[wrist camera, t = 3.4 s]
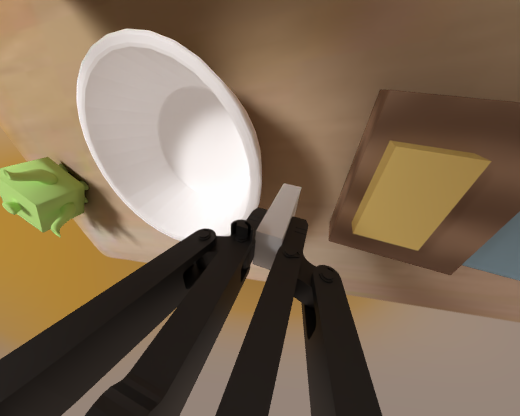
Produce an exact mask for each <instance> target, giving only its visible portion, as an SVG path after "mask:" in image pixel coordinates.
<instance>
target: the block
mask: <svg viewBox="0 0 520 416" xmlns="http://www.w3.org/2000/svg"><path fill="white" fill-rule="evenodd" d="M491 162H492V161H490V160H487V159H485V158H483V157H481V156H479V155H477V154H475V153H469V152H462V151H456V150H449V149H443V148H436V147H430V146H423V145H416V144H410V143H403V142H397V141H389V143H388V146H387V148H386V150H385V152H384V154H383V156H382V158H381V160H380V163H379V165H378V167H377V169H376V171H375V173H374V175H373V178H372V180H371V182H370V184H369V186H368V188H367V190H366V193H365V195H364V197H363V199H362V201H361V203H360V205H359V207H358V210H357V212H356V214H355V216H354V218H353V220H352V231H353V234H357V235H361V236H364V237H368V238H372V239H376V240H379V241H383V242H387V243H391V244H394V245H398V246H402V247H406V248H409V249H413V250H417V251H418V250H419V249H420V248H421V247H422V245H423V244H424V243H425V242H426V241H427V239H428V238H429V237H430V236H431V235H432V233H433V232H434V231H435V230H436V228H437V227H438V226H439V225H440V224H441V222H442V221H443V220H444V219H445V217H446V216H447V215H448V214H449V213H450V211H451V210H452V209H453V208H454V207H455V205H456V204H457V203H458V202H459V200H460V199H461V198H462V197H463V196H464V194H465V193H466V192H467V191H468V190H469V188H470V187H471V186H472V185H473V183H474V182H475V181H476V180H477V179H478V177H479V176H480V175H481V174H482V173H483V171H484V170H485V169H486V168H487V166H488V165H489V164H490V163H491Z"/></svg>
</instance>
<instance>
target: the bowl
mask: <svg viewBox="0 0 520 416" xmlns="http://www.w3.org/2000/svg"><path fill="white" fill-rule="evenodd" d="M77 107H78V114H79V120H80V124H81V127H82V130H83V134H84V137H85V140H86V142H87V145H88V147H89V150H90V152H91V154H92V157H93V158H94V160H95V162H96V164H97V166H98V167H99V169H100V171H101V173H102V174H103V176H104V177H105V179H106V180H107V182H108V183H109V185H110V186H111V187H112V189H113V190H114V191H115V192H116V194H117V195H118V196H119V197H120V198H121V200H122V201H123V202H124V203H125V204H126V205H127V206H128V207H129V208H130V209H131V210H132V211H133V212H134V213H135V214H136V215H138V216H139V217H140V218H141V219H143V220H144V221H145V222H146V223H148V224H149V225H151V226H152V227H154V228H155V229H157V230H158V231H160V232H162V233H163V234H165V235H167V236H169V237H171V238H174V239H176V240H179V241H182V240H183V239H185V238H186V237H188V236H189V235H191V234H193V233H194V232H196V231H197V230H200V229H204V228H206V229H211V230H213V231H214V232H215V233H216V236H230V235H231V223H232V222H233V221H236V220H241V219H242V220H246V219H247V218H248V217H249V215H250V214H251V212H252V211H253V210H255V209H256V208H258V205H259V203H260V195H261V187H262V163H261V150H260V146H259V142H258V138H257V135H256V131H255V129H254V126H253V124H252V122H251V120H250V118H249V115H248V113H247V111H246V110H245V108H244V107H243V105H242V104H241V102H240V101H239V100H238V98H237V97H236V95H235V94H234V93H233V92H232V90H231V89H230V88H229V87H228V86H227V85H226V84H225V83H224V82H223V81H222V80H221V79H220V78H219V77H218V76H217V75H216V74H215V73H214V72H213V71H212V70H211V68H210V67H209V66H208V65H207V64H206V63H205V62H204V61H203V60H202V59H201V58H200V57H198V56H197V55H195V54H194V53H192V52H191V51H190V50H188V49H187V48H185V47H184V46H182V45H181V44H180V43H178V42H177V41H175V40H173V39H170V38H168V37H165V36H163V35H160V34H158V33H155V32H152V31H150V30H138V29H123V30H119V31H116V32H112V33H109V34H106V35H105V36H104V37H102V38H101V39H100V40H99V41H97V42H96V43H95V44H94V45H92V46H91V47H90V49H89V51H88V52H87V54H86V56H85V58H84V59H83V61H82V63H81V67H80V71H79V75H78V79H77Z"/></svg>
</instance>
